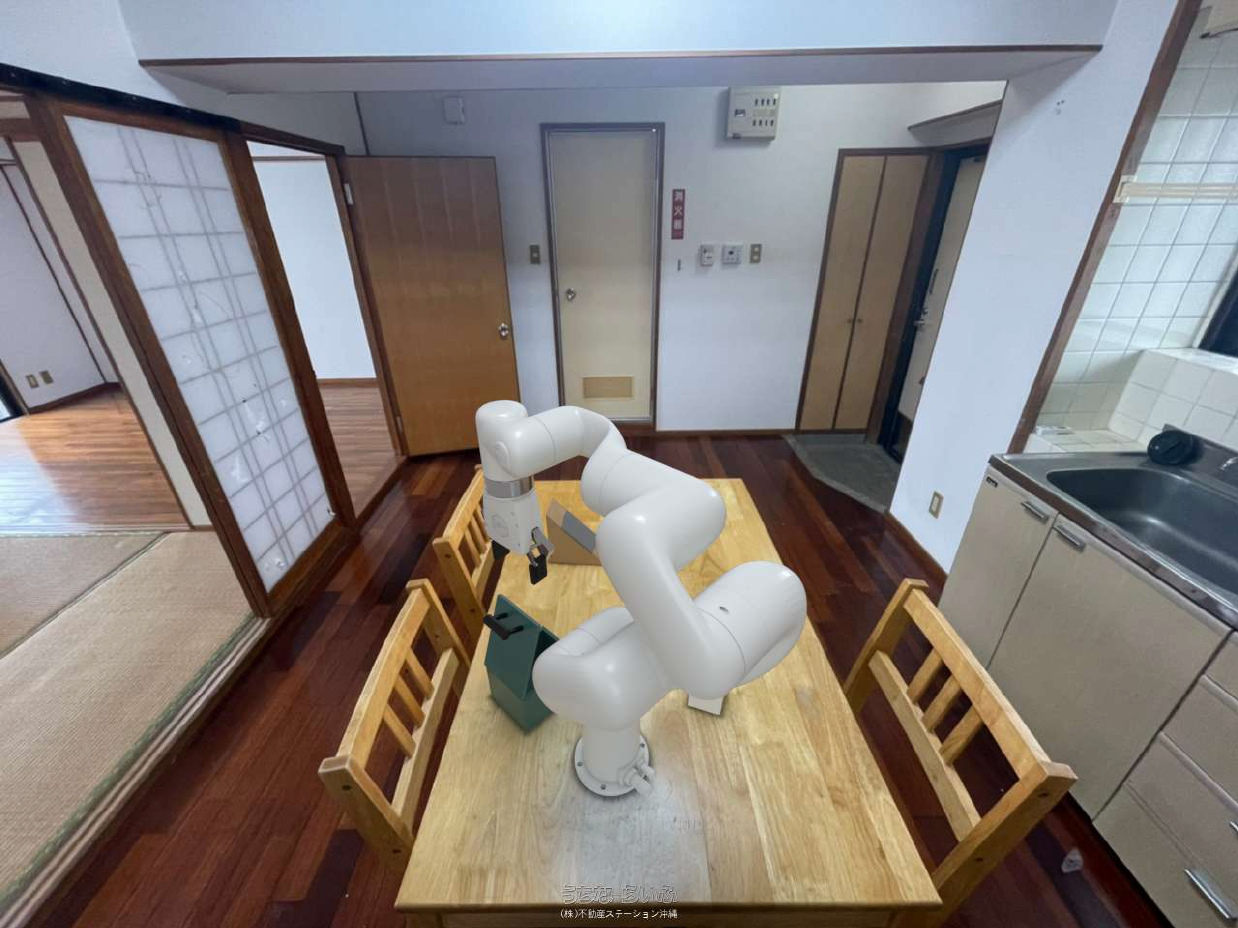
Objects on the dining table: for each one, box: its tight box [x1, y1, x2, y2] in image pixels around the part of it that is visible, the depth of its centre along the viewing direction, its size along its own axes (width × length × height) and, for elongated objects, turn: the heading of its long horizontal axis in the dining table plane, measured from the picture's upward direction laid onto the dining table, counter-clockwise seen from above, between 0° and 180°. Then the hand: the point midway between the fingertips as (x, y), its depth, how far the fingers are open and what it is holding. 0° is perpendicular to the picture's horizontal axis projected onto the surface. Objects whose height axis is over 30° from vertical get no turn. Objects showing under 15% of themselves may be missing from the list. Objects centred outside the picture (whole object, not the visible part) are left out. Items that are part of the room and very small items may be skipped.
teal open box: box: [485, 625, 561, 733], centre depth 98 cm, size 14×11×8 cm
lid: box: [482, 593, 542, 700], centre depth 88 cm, size 14×11×5 cm
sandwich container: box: [545, 497, 602, 566], centre depth 134 cm, size 9×15×15 cm, turn 85°
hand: (520, 567), depth 88 cm, fingers open, 9 cm apart
